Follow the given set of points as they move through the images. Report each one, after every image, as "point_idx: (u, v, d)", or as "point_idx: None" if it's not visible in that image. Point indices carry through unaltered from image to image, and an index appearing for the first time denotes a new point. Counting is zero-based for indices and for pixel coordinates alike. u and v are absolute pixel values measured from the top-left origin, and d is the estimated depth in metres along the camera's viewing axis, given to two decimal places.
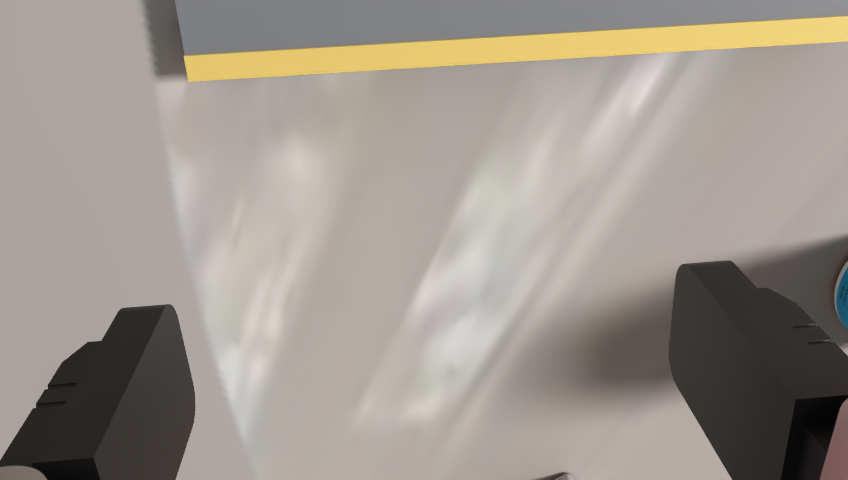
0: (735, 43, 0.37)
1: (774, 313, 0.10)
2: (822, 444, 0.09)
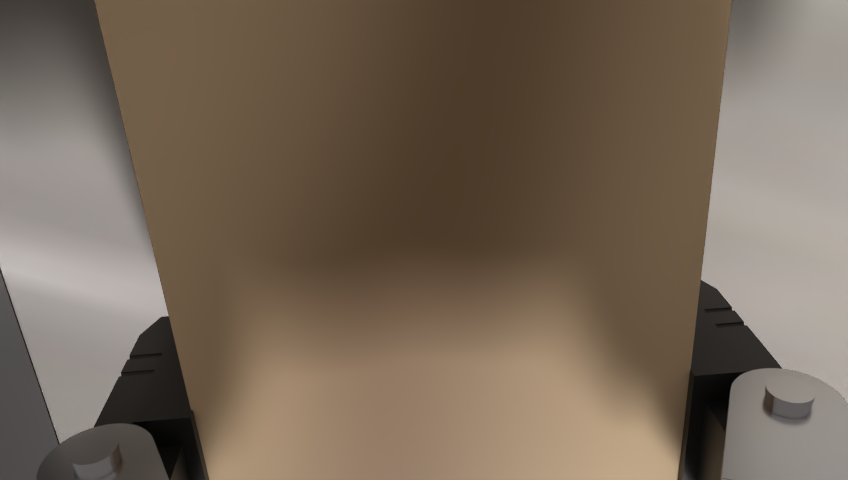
0: None
1: None
2: (718, 418, 0.09)
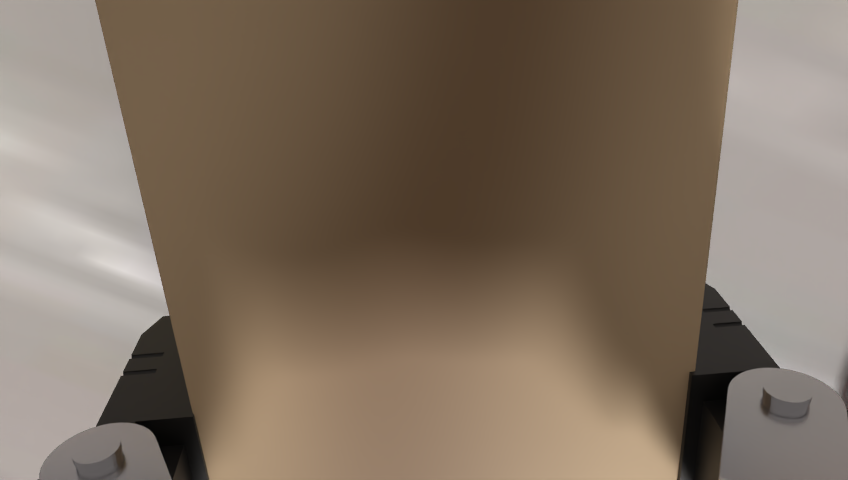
0: None
1: None
2: (716, 418, 0.09)
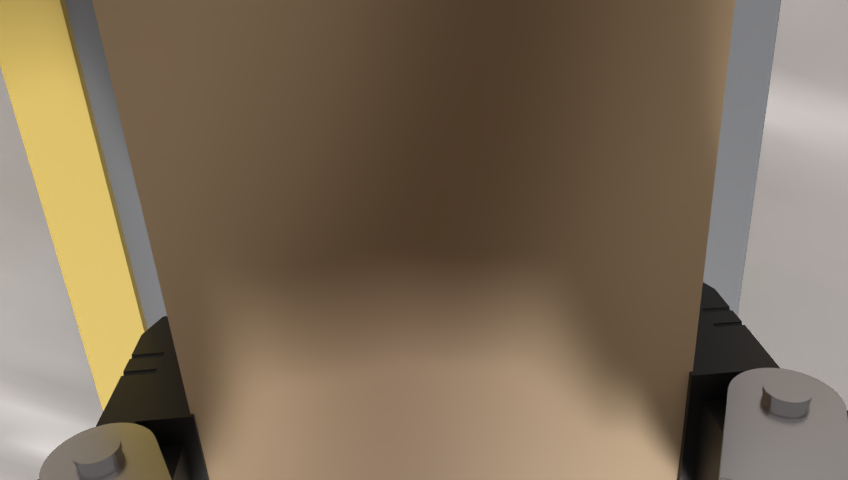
0: None
1: None
2: (716, 418, 0.09)
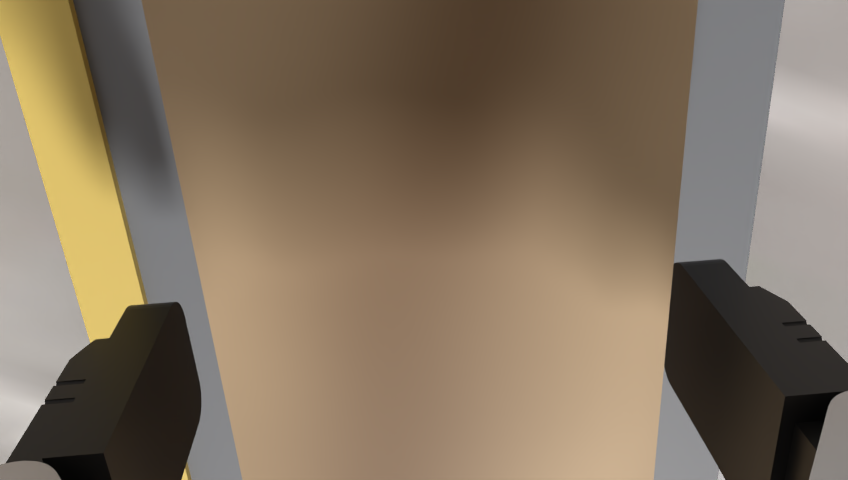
0: None
1: (765, 311, 0.10)
2: (812, 441, 0.09)
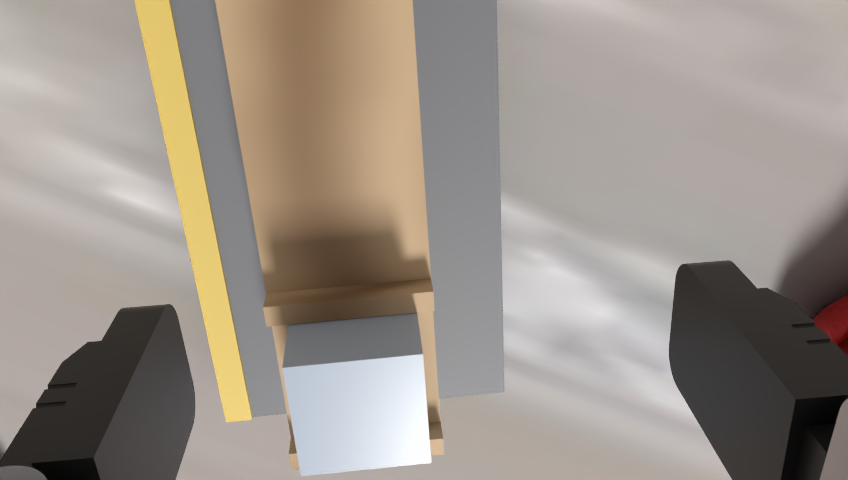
0: (203, 291, 0.33)
1: (774, 313, 0.10)
2: (822, 444, 0.09)
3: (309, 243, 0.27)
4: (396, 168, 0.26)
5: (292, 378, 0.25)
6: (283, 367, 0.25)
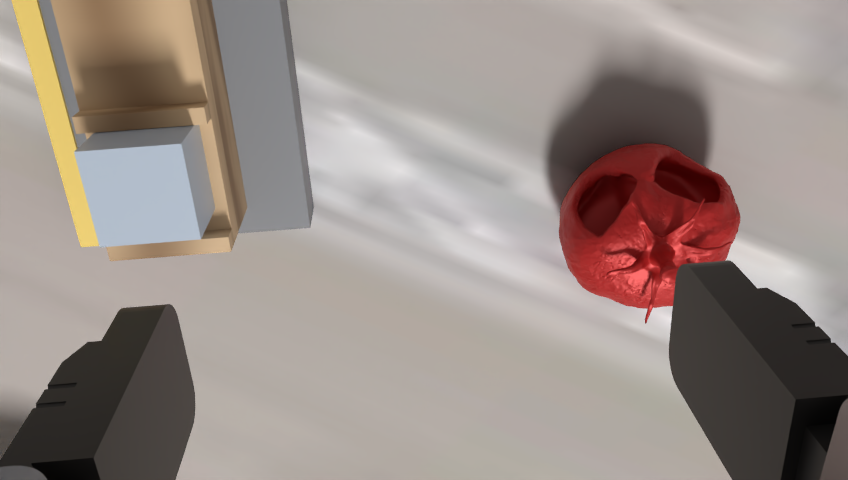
0: (52, 130, 0.41)
1: (774, 313, 0.10)
2: (822, 444, 0.09)
3: (108, 69, 0.35)
4: (169, 7, 0.34)
5: (82, 161, 0.33)
6: (75, 151, 0.33)
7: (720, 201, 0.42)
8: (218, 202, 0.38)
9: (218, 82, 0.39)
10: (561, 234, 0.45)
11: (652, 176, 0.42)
